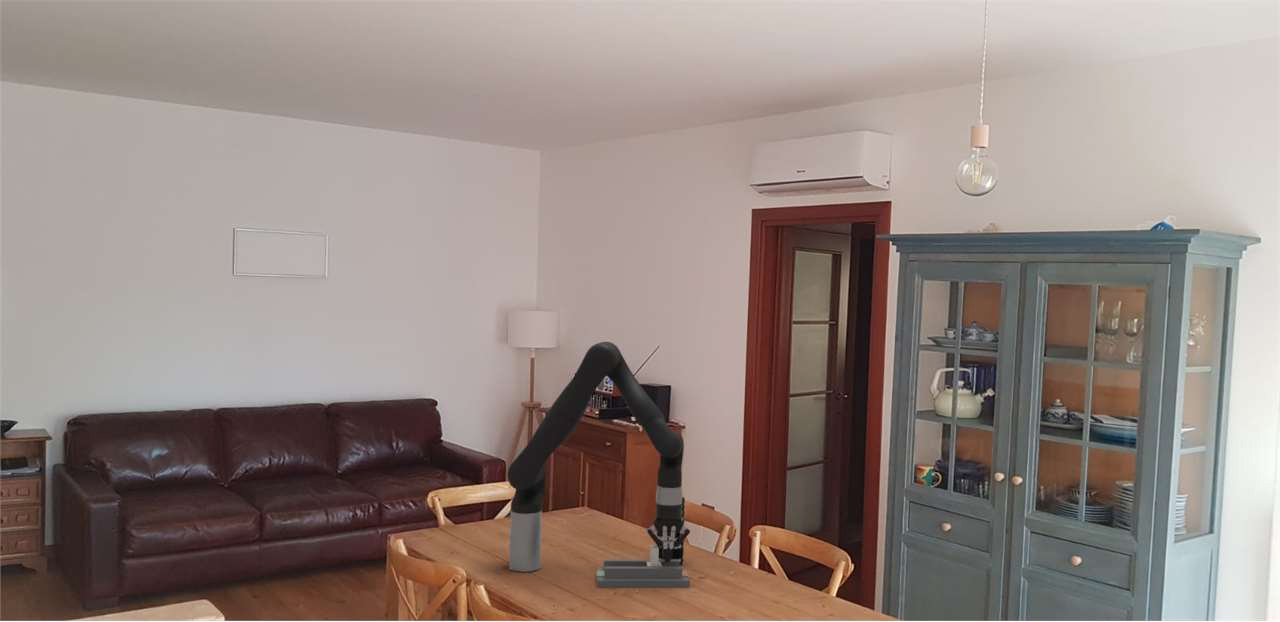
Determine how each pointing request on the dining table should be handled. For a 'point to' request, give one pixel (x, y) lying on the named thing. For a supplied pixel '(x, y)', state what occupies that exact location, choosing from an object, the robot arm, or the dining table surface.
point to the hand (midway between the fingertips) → (667, 560)
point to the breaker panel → (641, 574)
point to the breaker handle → (654, 556)
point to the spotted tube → (676, 550)
